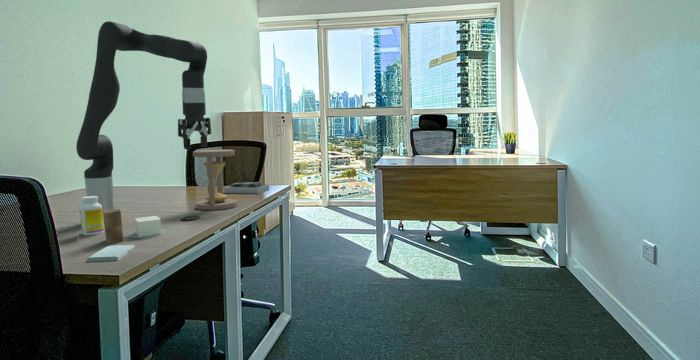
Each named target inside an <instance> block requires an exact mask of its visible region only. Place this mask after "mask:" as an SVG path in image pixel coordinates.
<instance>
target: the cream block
mask: <svg viewBox="0 0 700 360" xmlns="http://www.w3.org/2000/svg"><path fill="white" fill-rule="evenodd" d="M134 225H135V232H136V234H137V235H138V236H139V237H143V236H150V235H157V234H161V235H162V230H161V229H162V219H161V218H160V216H158V215H152V216H143V217H136V218H135V217H134Z"/></svg>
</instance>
